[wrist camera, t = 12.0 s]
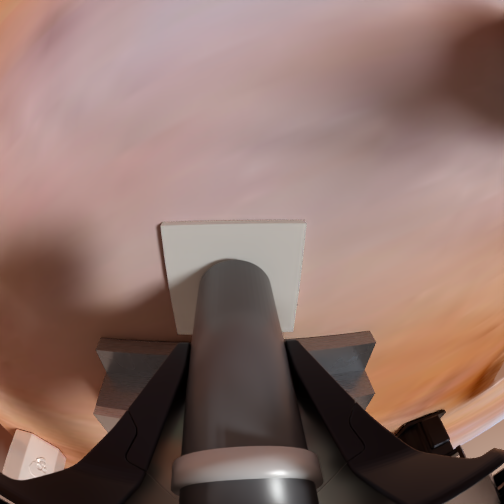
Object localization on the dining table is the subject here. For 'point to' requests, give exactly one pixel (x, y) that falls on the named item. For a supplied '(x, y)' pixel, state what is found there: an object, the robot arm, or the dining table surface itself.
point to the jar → (32, 457)
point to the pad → (233, 248)
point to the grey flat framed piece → (154, 353)
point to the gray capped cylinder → (241, 400)
